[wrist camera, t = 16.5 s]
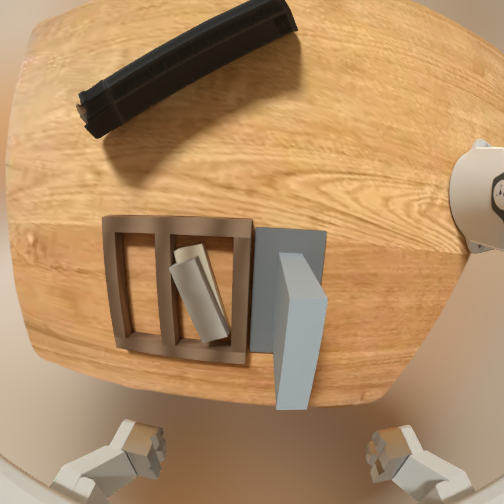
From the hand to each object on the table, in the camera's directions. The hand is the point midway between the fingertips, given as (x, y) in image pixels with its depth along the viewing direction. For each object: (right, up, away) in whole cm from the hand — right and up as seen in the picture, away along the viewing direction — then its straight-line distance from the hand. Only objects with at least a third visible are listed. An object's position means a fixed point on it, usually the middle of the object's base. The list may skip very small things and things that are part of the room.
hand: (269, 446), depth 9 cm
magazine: (-9, +31, +23) cm, 40 cm away
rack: (-11, +2, +29) cm, 32 cm away
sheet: (+4, +1, +29) cm, 29 cm away
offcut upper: (-7, +1, +28) cm, 29 cm away
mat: (+4, +1, +29) cm, 29 cm away
